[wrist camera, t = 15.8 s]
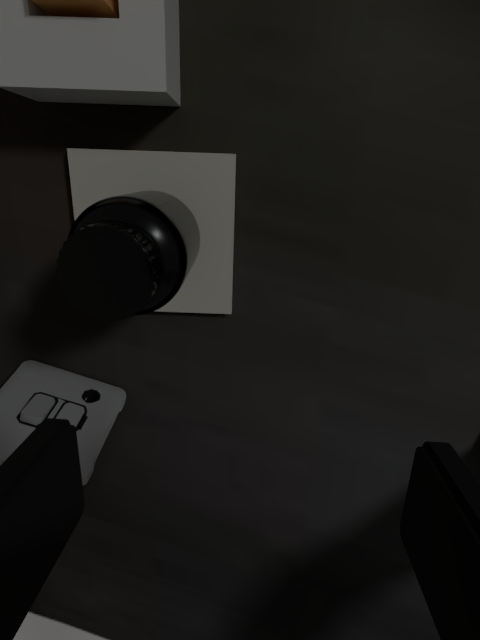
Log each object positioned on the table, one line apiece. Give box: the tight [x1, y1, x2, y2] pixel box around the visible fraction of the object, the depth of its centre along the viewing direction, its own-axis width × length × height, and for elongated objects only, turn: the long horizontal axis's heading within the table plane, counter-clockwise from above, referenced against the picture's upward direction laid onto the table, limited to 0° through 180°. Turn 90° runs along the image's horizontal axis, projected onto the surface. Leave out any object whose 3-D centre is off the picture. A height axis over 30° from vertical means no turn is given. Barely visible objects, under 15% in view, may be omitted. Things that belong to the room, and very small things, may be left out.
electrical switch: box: [0, 360, 126, 485], centre depth 32 cm, size 9×5×9 cm, turn 70°
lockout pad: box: [67, 148, 236, 314], centre depth 30 cm, size 12×12×1 cm
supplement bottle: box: [56, 191, 200, 321], centre depth 24 cm, size 7×7×12 cm
